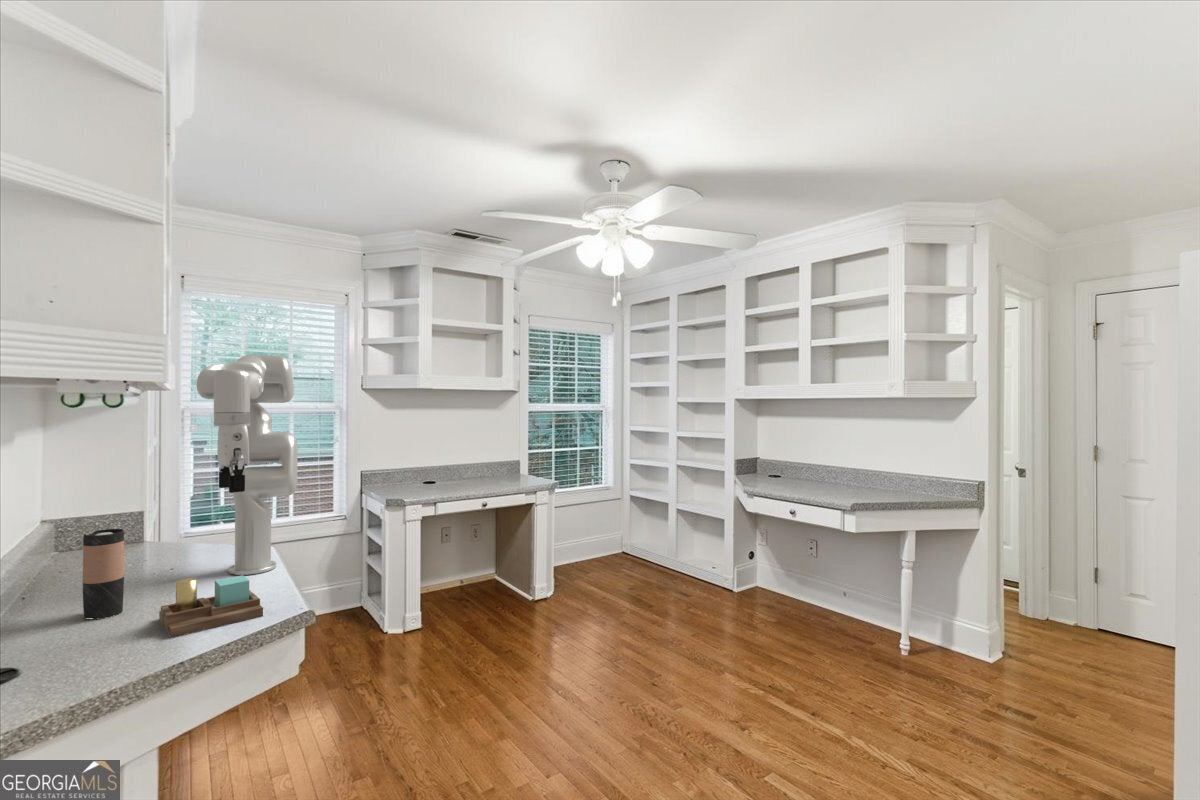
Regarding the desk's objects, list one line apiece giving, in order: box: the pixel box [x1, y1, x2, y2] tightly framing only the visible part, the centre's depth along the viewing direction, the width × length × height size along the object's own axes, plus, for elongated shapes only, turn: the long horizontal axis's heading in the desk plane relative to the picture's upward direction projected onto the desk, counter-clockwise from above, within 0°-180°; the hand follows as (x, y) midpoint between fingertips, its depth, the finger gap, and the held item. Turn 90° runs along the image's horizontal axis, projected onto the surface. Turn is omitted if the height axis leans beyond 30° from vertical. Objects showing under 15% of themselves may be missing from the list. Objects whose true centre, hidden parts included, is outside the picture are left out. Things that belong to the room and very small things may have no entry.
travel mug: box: [82, 528, 125, 620], centre depth 138 cm, size 8×8×20 cm
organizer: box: [158, 589, 264, 638], centre depth 136 cm, size 15×18×4 cm
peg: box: [175, 577, 198, 612], centre depth 133 cm, size 4×4×8 cm
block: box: [214, 575, 250, 607], centre depth 139 cm, size 6×6×6 cm
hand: (231, 489), depth 139 cm, fingers open, 9 cm apart
